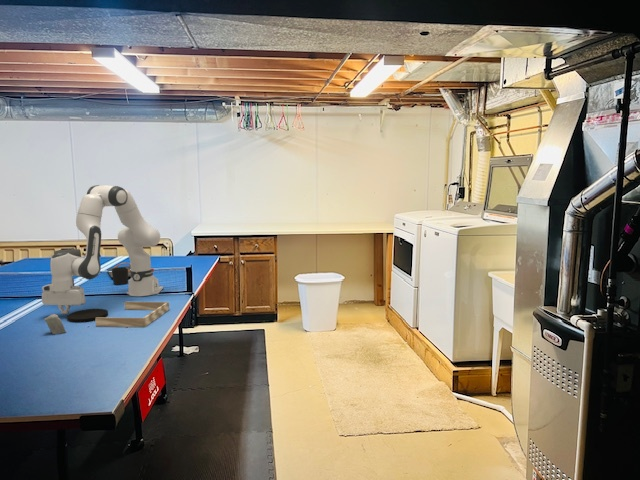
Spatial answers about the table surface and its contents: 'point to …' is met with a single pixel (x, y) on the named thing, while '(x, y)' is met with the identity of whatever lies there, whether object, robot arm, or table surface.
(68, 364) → the table surface
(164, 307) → the box
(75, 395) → the table surface
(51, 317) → the mineral specimen
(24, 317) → the table surface
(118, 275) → the pen holder
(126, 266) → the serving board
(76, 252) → the rubber mallet
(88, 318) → the wireless charger
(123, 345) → the table surface
